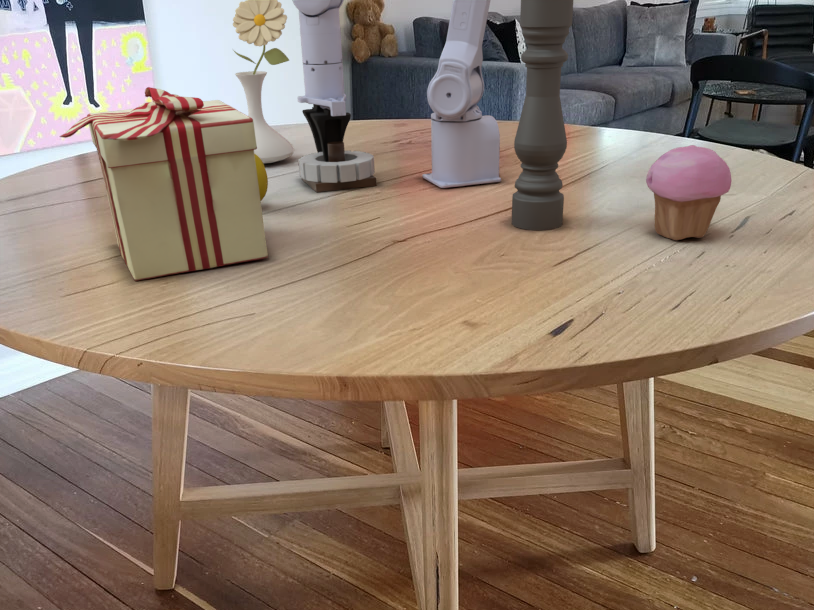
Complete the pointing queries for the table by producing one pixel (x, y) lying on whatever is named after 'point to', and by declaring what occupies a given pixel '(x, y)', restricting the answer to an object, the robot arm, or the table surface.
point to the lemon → (261, 177)
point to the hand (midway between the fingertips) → (329, 159)
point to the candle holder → (541, 116)
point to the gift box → (180, 183)
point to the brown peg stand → (338, 155)
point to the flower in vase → (260, 26)
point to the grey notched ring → (337, 167)
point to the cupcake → (687, 190)
